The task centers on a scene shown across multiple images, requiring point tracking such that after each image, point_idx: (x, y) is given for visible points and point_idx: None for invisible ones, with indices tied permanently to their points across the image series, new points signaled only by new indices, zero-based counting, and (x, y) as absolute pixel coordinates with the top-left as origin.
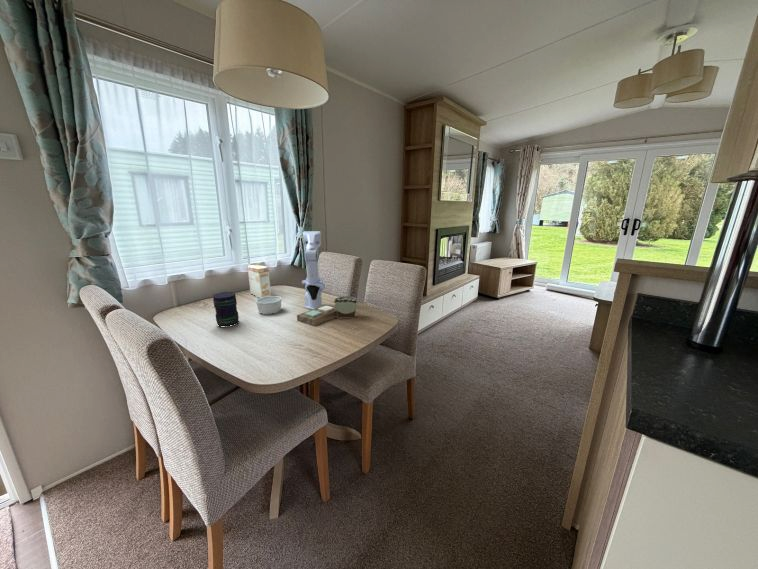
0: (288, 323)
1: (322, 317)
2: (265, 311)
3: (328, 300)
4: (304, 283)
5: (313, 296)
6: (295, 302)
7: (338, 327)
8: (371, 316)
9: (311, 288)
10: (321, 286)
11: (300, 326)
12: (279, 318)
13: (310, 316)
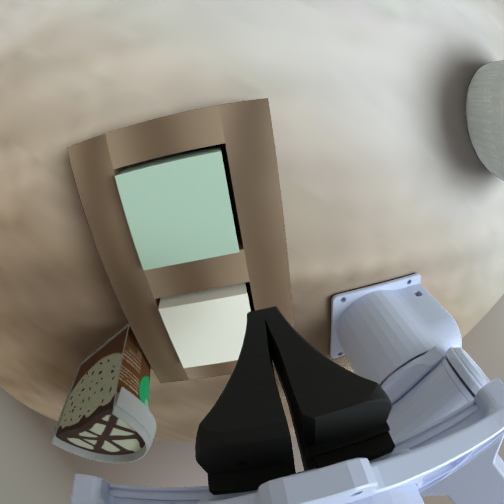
0: (260, 33)
1: (94, 233)
2: (486, 65)
3: None
4: (477, 407)
5: (244, 341)
6: (481, 273)
7: (7, 245)
8: None
9: (228, 431)
10: (79, 495)
11: (142, 66)
12: (388, 57)
13: (147, 165)
